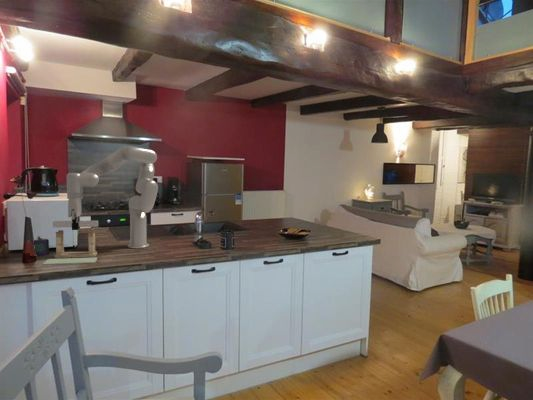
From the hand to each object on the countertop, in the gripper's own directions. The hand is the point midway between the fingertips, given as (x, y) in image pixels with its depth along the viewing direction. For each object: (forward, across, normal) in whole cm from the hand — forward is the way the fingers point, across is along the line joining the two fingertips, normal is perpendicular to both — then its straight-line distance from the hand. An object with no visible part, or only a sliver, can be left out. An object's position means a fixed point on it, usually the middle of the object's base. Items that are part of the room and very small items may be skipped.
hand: (76, 228), depth 202 cm
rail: (-1, 0, 0) cm, 1 cm away
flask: (+15, -3, -19) cm, 25 cm away
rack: (+15, 0, 0) cm, 15 cm away
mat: (+15, +12, 0) cm, 19 cm away
